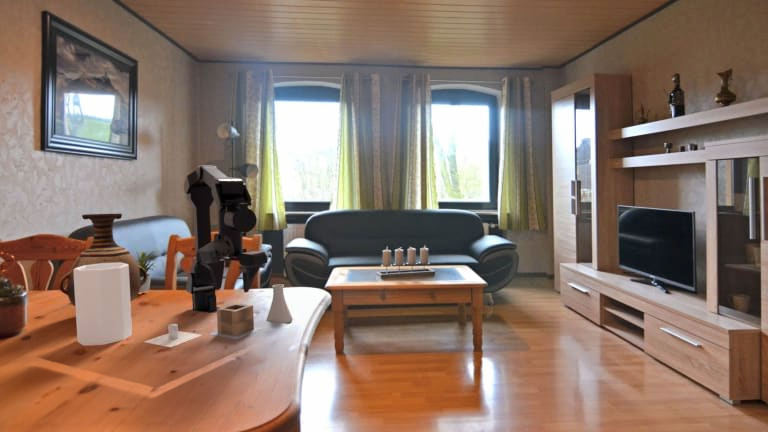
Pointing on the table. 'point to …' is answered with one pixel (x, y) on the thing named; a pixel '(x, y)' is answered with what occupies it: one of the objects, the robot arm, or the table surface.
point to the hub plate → (236, 336)
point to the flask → (279, 306)
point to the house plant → (143, 264)
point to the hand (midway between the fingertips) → (232, 290)
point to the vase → (105, 255)
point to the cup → (102, 303)
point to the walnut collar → (235, 319)
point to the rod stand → (173, 337)
